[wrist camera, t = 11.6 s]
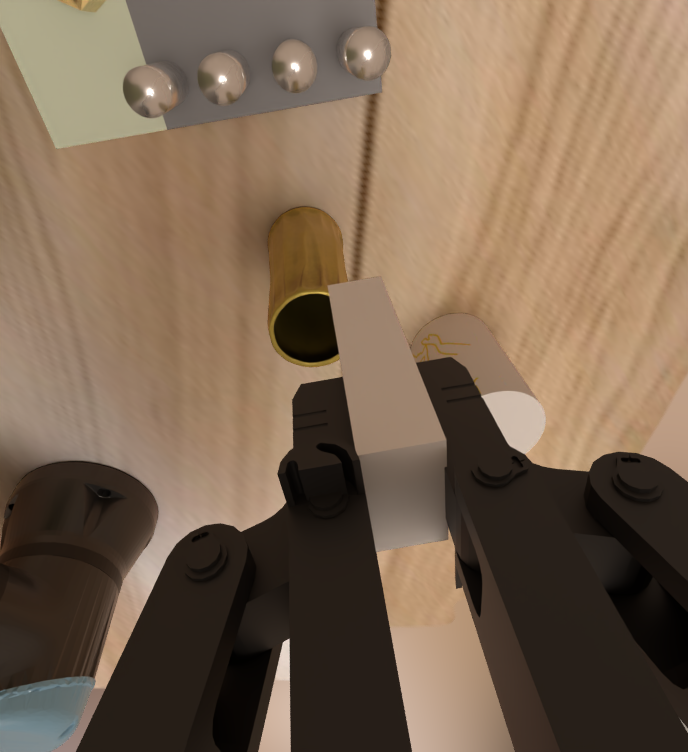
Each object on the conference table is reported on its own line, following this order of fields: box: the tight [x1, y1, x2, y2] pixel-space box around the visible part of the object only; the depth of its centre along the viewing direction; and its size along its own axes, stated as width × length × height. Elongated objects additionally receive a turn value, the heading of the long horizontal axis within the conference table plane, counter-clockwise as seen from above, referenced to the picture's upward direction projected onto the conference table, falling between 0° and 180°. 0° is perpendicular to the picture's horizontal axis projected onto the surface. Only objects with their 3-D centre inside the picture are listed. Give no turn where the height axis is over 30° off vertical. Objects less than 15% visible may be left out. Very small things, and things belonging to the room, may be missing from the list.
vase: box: [268, 207, 348, 367], centre depth 34 cm, size 6×6×14 cm
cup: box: [410, 313, 546, 454], centre depth 42 cm, size 8×8×12 cm
